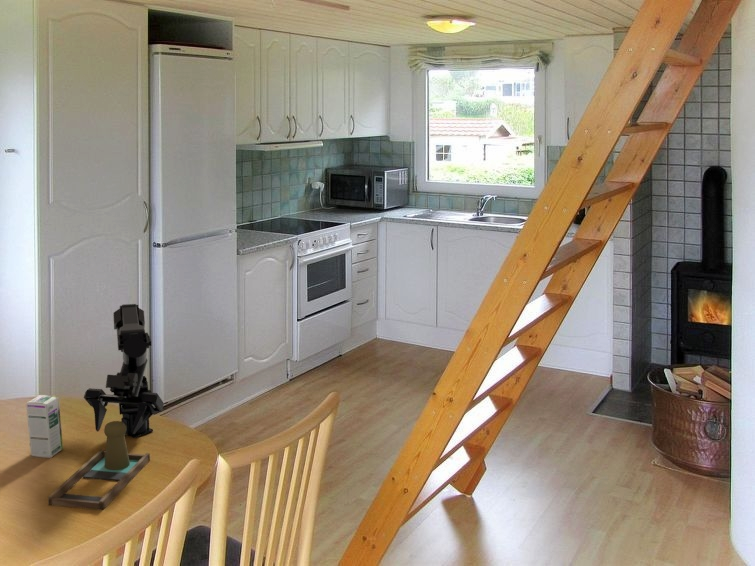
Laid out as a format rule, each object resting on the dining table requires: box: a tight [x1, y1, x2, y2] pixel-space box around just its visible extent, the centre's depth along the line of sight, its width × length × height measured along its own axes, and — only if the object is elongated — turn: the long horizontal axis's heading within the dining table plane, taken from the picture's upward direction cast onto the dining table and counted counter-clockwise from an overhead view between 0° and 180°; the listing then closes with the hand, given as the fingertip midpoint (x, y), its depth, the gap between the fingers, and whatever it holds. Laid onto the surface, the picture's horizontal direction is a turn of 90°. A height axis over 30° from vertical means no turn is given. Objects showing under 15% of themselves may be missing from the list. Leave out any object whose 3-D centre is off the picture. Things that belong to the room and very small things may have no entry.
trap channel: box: [47, 449, 151, 511], centre depth 213 cm, size 26×13×2 cm, turn 171°
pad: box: [91, 457, 139, 473], centre depth 221 cm, size 7×10×1 cm
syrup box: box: [25, 394, 64, 459], centre depth 227 cm, size 6×6×14 cm
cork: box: [103, 420, 130, 470], centre depth 220 cm, size 6×6×11 cm
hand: (114, 432), depth 219 cm, fingers open, 9 cm apart
